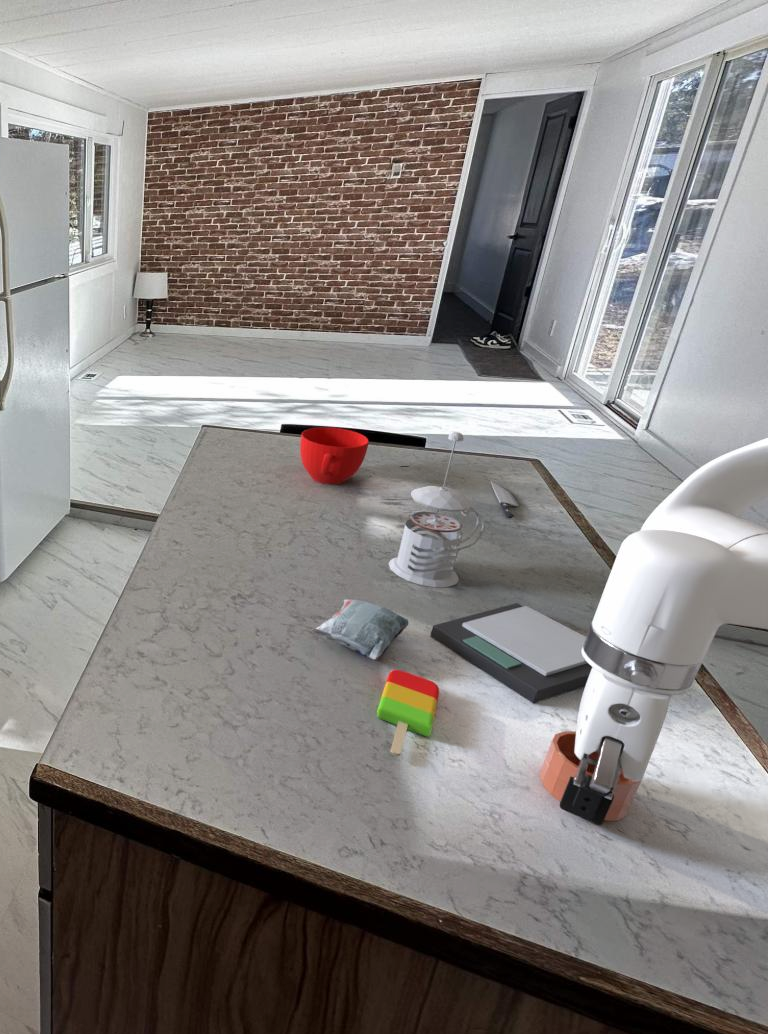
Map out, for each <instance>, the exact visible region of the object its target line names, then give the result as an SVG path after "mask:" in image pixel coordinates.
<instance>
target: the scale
mask: <svg viewBox="0 0 768 1034" xmlns="http://www.w3.org/2000/svg"><path fill="white" fill-rule="evenodd" d="M586 637H587V636H585V635H583V634H581V633H579V632H577V631H576V630H573V629H572V628H570V627H568V626H565V625H563V624H561V623H560V622H558V621H556V620H554V619H552V618H550V617H548V616H546V615H545V614H543V613H541V612H539V611H537V610H535V609H533V608H532V607H529V606H528V605H525V606H524V605H522V604H521V603H517V602H516V603H512V604H511V603H510V604H507V605H505V606H501V607H497V608H493V609H488V610H485V611H482V612H479V613H474V614H470V615H467V616H463V617H460V618H455V619H452V620H448V621H445V622H441V623H437V624H433V625H432V628H431V631H430V638H431V639H433V640H435V641H436V642H438V643H439V644H440V645H442V646H444V647H446V648H447V649H449V650H450V651H452V652H453V653H455V654H456V655H458V656H459V657H461V658H463V659H464V660H466V661H467V662H468V663H470V664H472V665H473V666H475V667H476V668H478V669H480V670H481V671H482V672H484V673H485V674H487V675H489V676H491V677H492V678H494V679H495V680H496V681H498V682H500V683H501V684H502V685H504V686H506V688H509V689H510V690H512V691H514V692H515V693H517V694H518V695H520V696H521V697H523V698H525V699H526V700H527V701H529V702H530V703H532V704H536V703H539V702H541V701H545V700H547V699H552V698H553V697H557V696H560V695H563V694H566V693H570V692H572V691H576V690H579V689H582V688H585V686H586V683H587V680H588V677H589V675H590V672H591V669H592V666H591V665H589V664H588V662H587V661H586V660H585V659H584V658H583V656H582V653H581V651H582V647H583V645H584V642H585V639H586Z"/></svg>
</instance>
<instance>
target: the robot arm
mask: <svg viewBox="0 0 768 1034" xmlns="http://www.w3.org/2000/svg"><path fill="white" fill-rule="evenodd" d="M767 498H768V437H765V438H763V439H761V440H757V441H755V442H752V443H749V444H747V445H745V446H742V447H739V448H737V449H734V450H731V451H729V452H727V453H725V454H722V455H720V456H718V457H716V458H714V459H712V460H710V461H708V462H707V463H705V464H703V465H702V466H700V467H699V468H698V469H696V470H695V471H694V472H692V473H691V474H690V475H689V476H688V477H687V478H686V479H685V480H683V481H682V483H681V484H680V485H678V486H677V487H676V488H675V489H674V490H673V491H672V492H671V493H669V495H668V496H667V497H666V498H665V499H664V500H662V501H661V502H660V503H659V505H658V506H656V507H655V509H654V510H653V511H652V512H651V513H650V515H648V517H647V518H646V520H645V521H644V522H643V524H642V526H641V528H640V530H638V531H635V532H633V533H631V534H629V535H628V536H627V537H626V538H625V539H624V540H623V541H622V542H621V544H620V546H619V549H618V552H617V555H616V557H615V559H614V562H613V564H612V567H611V570H610V573H609V576H608V578H607V580H606V584H605V587H604V589H603V592H602V594H601V597H600V600H599V603H598V605H597V607H596V610H595V614H594V616H593V619H592V621H591V623H590V627H589V629H588V632H587V634H586V636H585V637H586V639H585V642H584V645H583V647H582V651H581V653H582V656H583V658H584V659H585V660H586V661H587V662H588V664H589V665H591V666H592V669H591V672H590V675H589V677H588V680H587V683H586V686H585V687H584V689H583V691H582V695H581V699H580V703H579V707H578V714H577V720H576V727H575V728H576V729H575V732H576V738H575V749H574V753H575V754H576V756H577V757H578V758H579V759H580V762H579V765H578V768H577V772H576V775H575V778H574V777H571V776H570V779H569V781H568V784H567V786H566V789H565V791H564V794H563V796H562V799H561V801H559V808H560V809H561V810H563V811H564V812H568V814H569V813H570V814H572V815H574V816H576V817H578V818H580V819H583V820H585V821H588V822H590V823H592V824H594V825H597V826H602V825H603V824H604V821H605V820H604V819H605V817H606V815H607V812H608V810H609V808H610V806H611V803H612V801H613V799H614V791H615V788H616V785H617V782H618V779H619V776H620V774H621V769H622V770H623V774H624V777H625V778H628V779H630V780H632V781H634V782H638V781H641V780H642V781H643V778H644V776H645V773H646V771H647V768H648V765H649V763H650V760H651V757H652V755H653V752H654V750H655V747H656V745H657V742H658V739H659V736H660V734H661V732H662V729H663V725H664V724H665V723H664V722H665V720H666V717H667V713H668V710H669V706H670V703H671V700H672V699H671V698H672V696H678V695H682V694H683V695H684V694H686V693H687V692H689V691H690V690H691V688H692V685H693V683H694V681H695V679H696V677H697V675H698V673H699V671H700V669H701V666H702V664H703V663H704V659H705V657H706V655H707V653H708V651H709V649H710V647H711V645H712V642H713V641H714V638H715V636H716V634H717V632H718V629H719V628H720V627H721V626H723V625H736V626H743V627H751V628H757V629H763V630H768V528H766V527H765V526H764V527H763V526H761V525H759V524H756V523H754V522H751V521H749V520H747V519H744V518H741V516H742V515H744V513H745V512H746V511H748V510H749V509H750V508H752V507H753V506H755V505H756V504H758V503H759V502H761V501H763V500H764V499H767ZM593 752H596V753H598V754H599V755H598V759H596V758H593V757H591V756H589V755H590V754H591V753H593ZM588 764H590V765H593V766H595V770H594V773H593V774H592V776H591V775H585V773H586V770H587V767H588ZM642 781H641V782H642Z"/></svg>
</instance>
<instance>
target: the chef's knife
mask: <svg viewBox="0 0 768 1034" xmlns="http://www.w3.org/2000/svg"><path fill="white" fill-rule="evenodd" d="M490 485H491V487H492V489H493V492H494V494H495V497H496V499H497V501H498V503H499V505H500V507H501V508H502V511H503V513H504V515H505V518H507V519H513V518H515V514H513V512H511V511H510V508H509V507H520V505H519V504H518V502H517V501H516V498H514V496H513V494H512V493H511V492H510V491H508V490H507V489H506V488H504V487H502V486H501V485H499V484H497V483H495V482H493V481H491V480H490Z"/></svg>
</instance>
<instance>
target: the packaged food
mask: <svg viewBox="0 0 768 1034" xmlns="http://www.w3.org/2000/svg"><path fill="white" fill-rule="evenodd" d="M408 626H409V620H408V619H407V618H405V617H403V615H399V614H398V613H396V612H394V611H392V610H389V609H388V608H386V607H383V606H380V605H377V604H374V603H371V602H368V601H363V600H358V599H347V598H345V599H344V600H343V605H342V607H341V609H340V610H339V611H337V612H336V613H335V614H333V615H332V617H331V618H329V619H328V620H326V621H324V622H322V624H320V625H318V627H316V628H315V627H312V628H311V630H312V632H313V633H315V634H318V635H321V636H323V637H324V638H326V639H327V640H330V641H332V642H334V643H337V644H338V645H341V646H343V647H345V648H347V649H350V650H351V651H355V652H357V653H359V654H360V655H363V656H364V657H366V658H368V659H371V660H372V661H378V660H379V659H380V658H381V657H382V656H383V655H384V653H385V652H386V650H387V649H388V647H389V646H390V644H392V643H393V641H394V640H395V639H396V638H398V637H399V636H400V635H401V633H402V632H403V630H405V629H406V628H407V627H408Z"/></svg>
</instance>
